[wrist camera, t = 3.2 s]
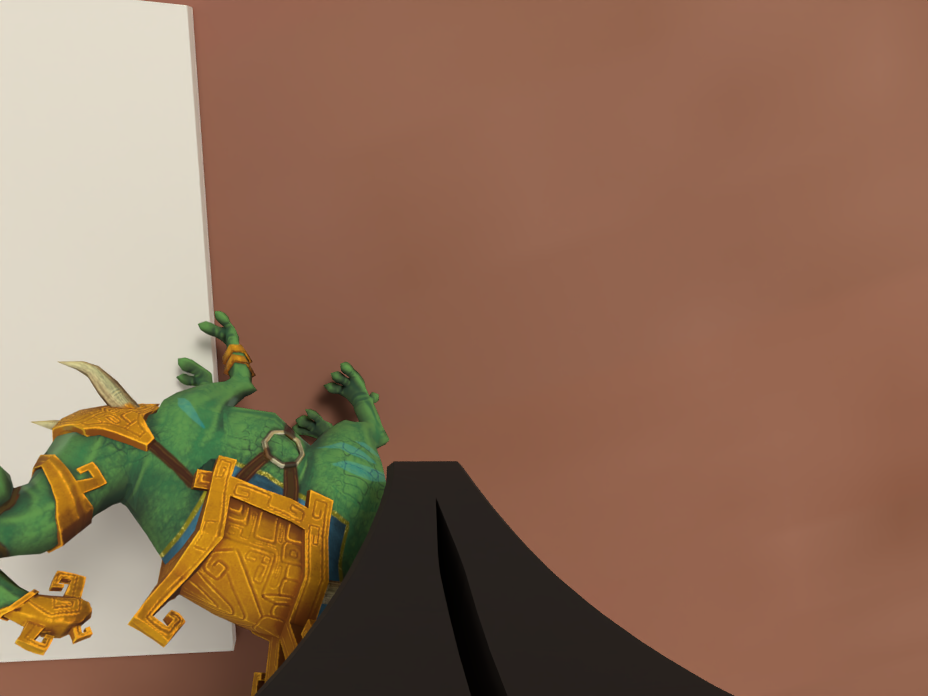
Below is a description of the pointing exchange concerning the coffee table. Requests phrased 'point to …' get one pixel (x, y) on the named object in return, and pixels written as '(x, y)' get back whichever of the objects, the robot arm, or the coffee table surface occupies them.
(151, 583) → the cream mat
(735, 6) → the coffee table surface
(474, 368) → the coffee table surface
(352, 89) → the coffee table surface
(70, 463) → the figurine
